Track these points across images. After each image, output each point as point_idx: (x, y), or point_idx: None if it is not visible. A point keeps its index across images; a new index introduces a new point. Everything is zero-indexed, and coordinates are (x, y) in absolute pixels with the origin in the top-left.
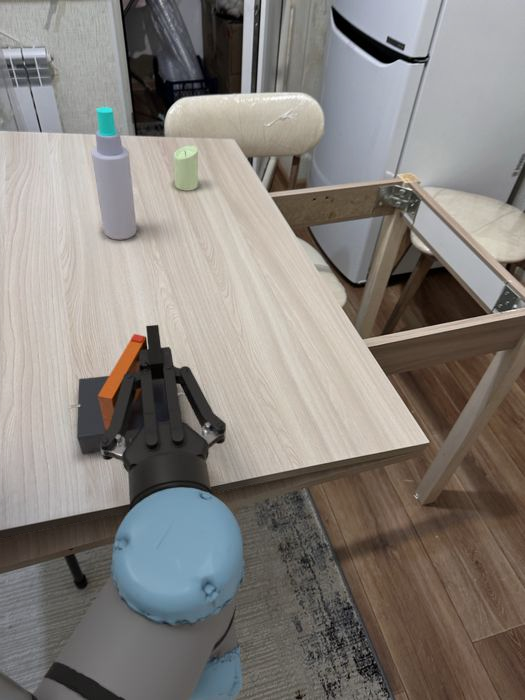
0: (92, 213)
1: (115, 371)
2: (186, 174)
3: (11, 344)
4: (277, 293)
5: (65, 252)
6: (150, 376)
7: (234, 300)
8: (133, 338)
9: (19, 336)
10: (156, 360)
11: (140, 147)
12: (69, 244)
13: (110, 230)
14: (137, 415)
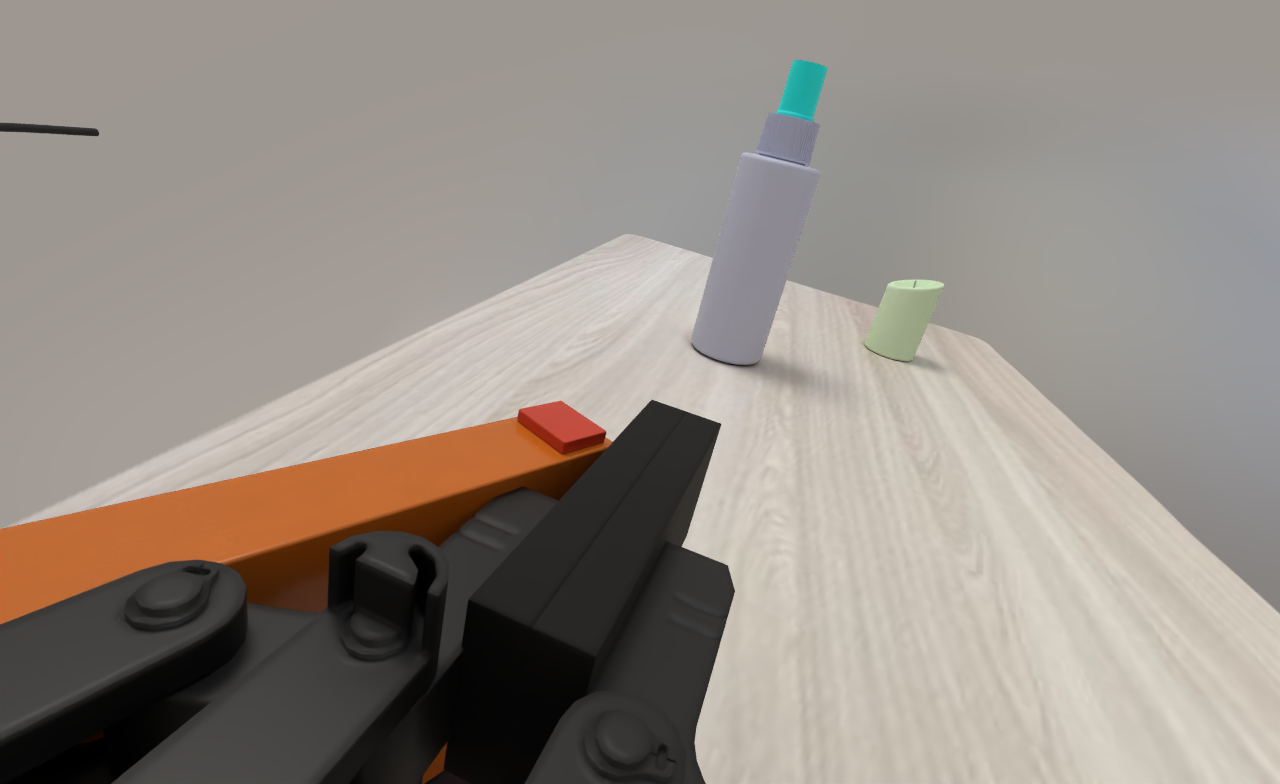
0: (687, 318)
1: (173, 507)
2: (901, 323)
3: (297, 401)
4: (1184, 652)
5: (594, 334)
6: (340, 741)
7: (1004, 598)
8: (536, 412)
9: (337, 397)
10: (554, 598)
11: (816, 297)
12: (612, 330)
13: (705, 331)
14: None
